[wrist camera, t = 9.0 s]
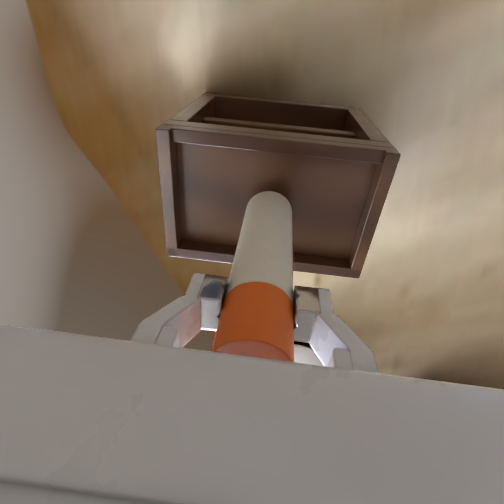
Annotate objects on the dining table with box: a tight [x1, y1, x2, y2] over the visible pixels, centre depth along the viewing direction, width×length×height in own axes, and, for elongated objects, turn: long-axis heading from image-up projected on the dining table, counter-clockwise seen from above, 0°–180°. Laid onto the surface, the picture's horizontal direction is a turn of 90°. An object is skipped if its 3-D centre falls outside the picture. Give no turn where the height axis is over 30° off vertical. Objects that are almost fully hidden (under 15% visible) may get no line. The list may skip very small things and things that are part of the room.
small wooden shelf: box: [156, 93, 400, 278], centre depth 26 cm, size 9×14×13 cm, turn 86°
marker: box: [211, 191, 294, 362], centre depth 16 cm, size 3×3×12 cm
